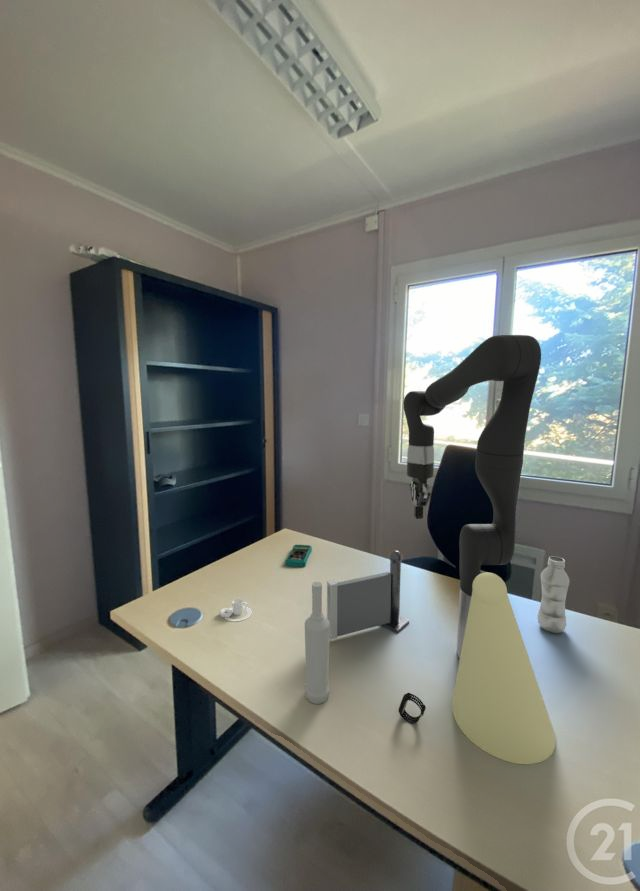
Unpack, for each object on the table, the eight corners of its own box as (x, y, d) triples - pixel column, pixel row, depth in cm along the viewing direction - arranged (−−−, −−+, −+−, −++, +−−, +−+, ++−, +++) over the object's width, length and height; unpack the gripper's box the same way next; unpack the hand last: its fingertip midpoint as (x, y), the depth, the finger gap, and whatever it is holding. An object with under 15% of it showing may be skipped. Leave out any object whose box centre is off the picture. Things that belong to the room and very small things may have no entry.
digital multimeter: (284, 567, 137) (284, 559, 137) (293, 550, 153) (293, 543, 152) (304, 569, 136) (304, 561, 136) (312, 551, 151) (312, 544, 151)
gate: (386, 618, 103) (387, 568, 101) (390, 623, 101) (392, 572, 99) (327, 634, 96) (327, 580, 94) (330, 639, 94) (330, 585, 92)
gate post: (409, 623, 103) (411, 550, 100) (397, 633, 99) (399, 557, 96) (390, 614, 107) (392, 544, 104) (378, 623, 103) (380, 550, 100)
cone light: (471, 669, 85) (479, 524, 81) (564, 715, 73) (581, 547, 68) (420, 743, 67) (427, 561, 63) (532, 820, 55) (551, 601, 50)
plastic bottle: (571, 636, 97) (578, 564, 94) (545, 636, 97) (551, 564, 94) (556, 621, 103) (562, 553, 101) (531, 621, 103) (537, 553, 101)
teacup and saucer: (216, 620, 105) (215, 607, 105) (229, 605, 113) (228, 592, 112) (244, 624, 103) (243, 611, 102) (256, 609, 111) (255, 596, 110)
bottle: (315, 681, 82) (315, 575, 79) (334, 693, 79) (334, 583, 75) (300, 696, 78) (298, 585, 75) (318, 709, 75) (318, 593, 71)
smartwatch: (407, 707, 75) (407, 684, 75) (427, 724, 71) (428, 701, 70) (393, 717, 73) (393, 694, 72) (414, 736, 69) (414, 712, 68)
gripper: (401, 456, 113) (400, 511, 116) (414, 464, 100) (412, 525, 103) (426, 456, 114) (424, 510, 116) (441, 464, 101) (438, 525, 103)
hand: (418, 517), depth 109 cm, fingers closed
